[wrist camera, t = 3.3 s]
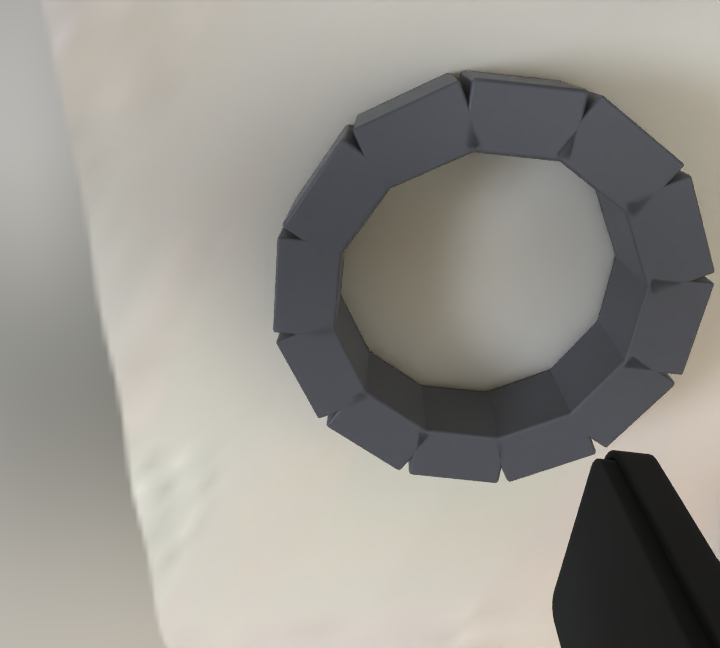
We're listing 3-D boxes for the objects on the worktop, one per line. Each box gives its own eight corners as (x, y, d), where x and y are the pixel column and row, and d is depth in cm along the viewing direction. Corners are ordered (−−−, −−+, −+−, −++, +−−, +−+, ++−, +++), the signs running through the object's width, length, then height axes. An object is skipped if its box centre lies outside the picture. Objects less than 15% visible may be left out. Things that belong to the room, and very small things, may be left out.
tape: (279, 413, 21) (266, 460, 19) (299, 52, 16) (285, 57, 14) (612, 447, 21) (639, 499, 19) (722, 97, 17) (776, 110, 14)
